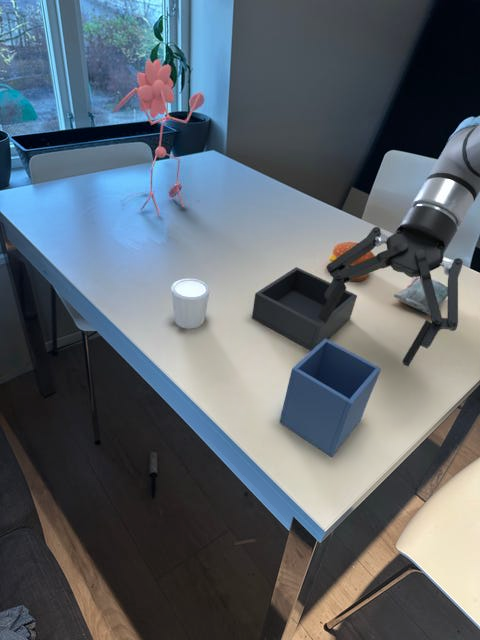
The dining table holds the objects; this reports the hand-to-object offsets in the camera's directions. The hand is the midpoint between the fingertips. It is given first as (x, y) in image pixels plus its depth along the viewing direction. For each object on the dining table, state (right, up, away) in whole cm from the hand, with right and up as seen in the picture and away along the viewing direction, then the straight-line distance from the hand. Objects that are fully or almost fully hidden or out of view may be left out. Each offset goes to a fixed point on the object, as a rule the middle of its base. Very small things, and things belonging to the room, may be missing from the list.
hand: (361, 341), depth 65 cm
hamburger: (+8, +14, +39) cm, 43 cm away
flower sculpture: (-41, +35, +58) cm, 80 cm away
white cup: (-27, +3, +19) cm, 33 cm away
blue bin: (-6, -12, +2) cm, 14 cm away
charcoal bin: (-6, +3, +22) cm, 23 cm away
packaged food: (+21, +7, +32) cm, 39 cm away
